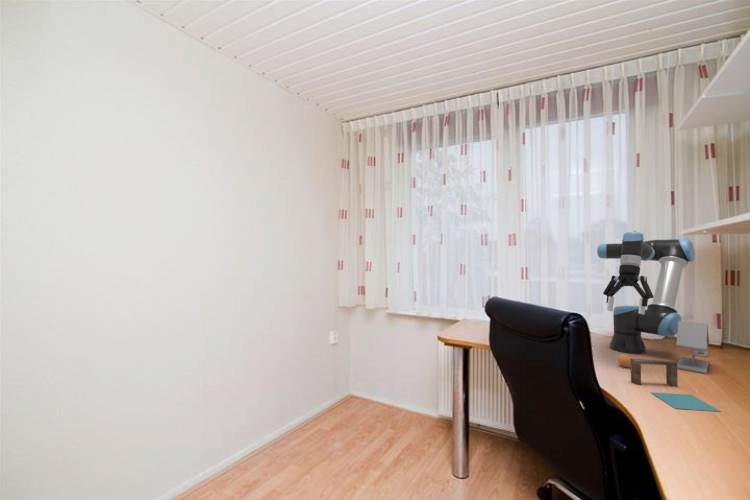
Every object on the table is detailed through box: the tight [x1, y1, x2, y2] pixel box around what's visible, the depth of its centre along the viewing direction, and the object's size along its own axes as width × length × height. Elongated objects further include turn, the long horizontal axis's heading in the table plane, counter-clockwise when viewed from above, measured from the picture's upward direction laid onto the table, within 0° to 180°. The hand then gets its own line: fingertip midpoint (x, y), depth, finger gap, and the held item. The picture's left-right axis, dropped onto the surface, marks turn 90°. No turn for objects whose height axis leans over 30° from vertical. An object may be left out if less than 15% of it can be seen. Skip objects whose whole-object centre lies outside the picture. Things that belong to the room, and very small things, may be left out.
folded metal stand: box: [675, 320, 711, 375], centre depth 152 cm, size 18×10×20 cm, turn 133°
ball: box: [617, 354, 633, 368], centre depth 152 cm, size 6×6×6 cm
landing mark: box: [650, 391, 722, 413], centre depth 117 cm, size 13×13×1 cm
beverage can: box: [695, 344, 709, 357], centre depth 169 cm, size 6×6×15 cm
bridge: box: [630, 358, 679, 387], centre depth 133 cm, size 3×14×9 cm, turn 80°
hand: (624, 312), depth 150 cm, fingers open, 13 cm apart
